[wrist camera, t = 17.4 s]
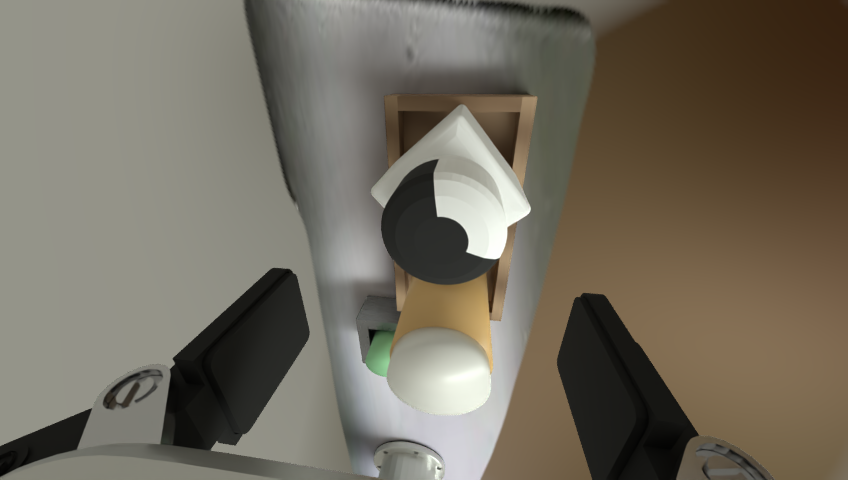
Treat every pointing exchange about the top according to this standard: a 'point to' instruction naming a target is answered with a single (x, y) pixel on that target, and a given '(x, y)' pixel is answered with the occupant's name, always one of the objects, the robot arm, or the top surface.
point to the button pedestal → (376, 320)
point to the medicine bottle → (449, 203)
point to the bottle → (443, 348)
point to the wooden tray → (506, 129)
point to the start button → (380, 352)
